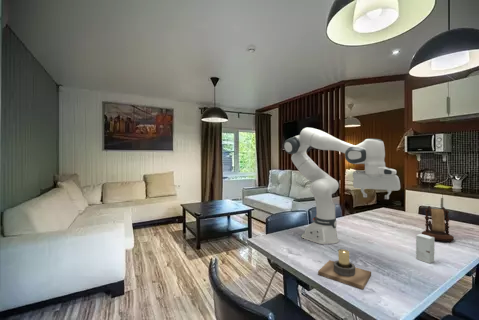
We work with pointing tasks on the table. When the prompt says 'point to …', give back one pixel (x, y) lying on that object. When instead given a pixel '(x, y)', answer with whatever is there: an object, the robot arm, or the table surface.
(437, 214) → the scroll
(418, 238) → the skincare box
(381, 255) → the table surface
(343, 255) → the cylinder
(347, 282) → the ring holder
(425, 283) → the table surface
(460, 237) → the table surface
